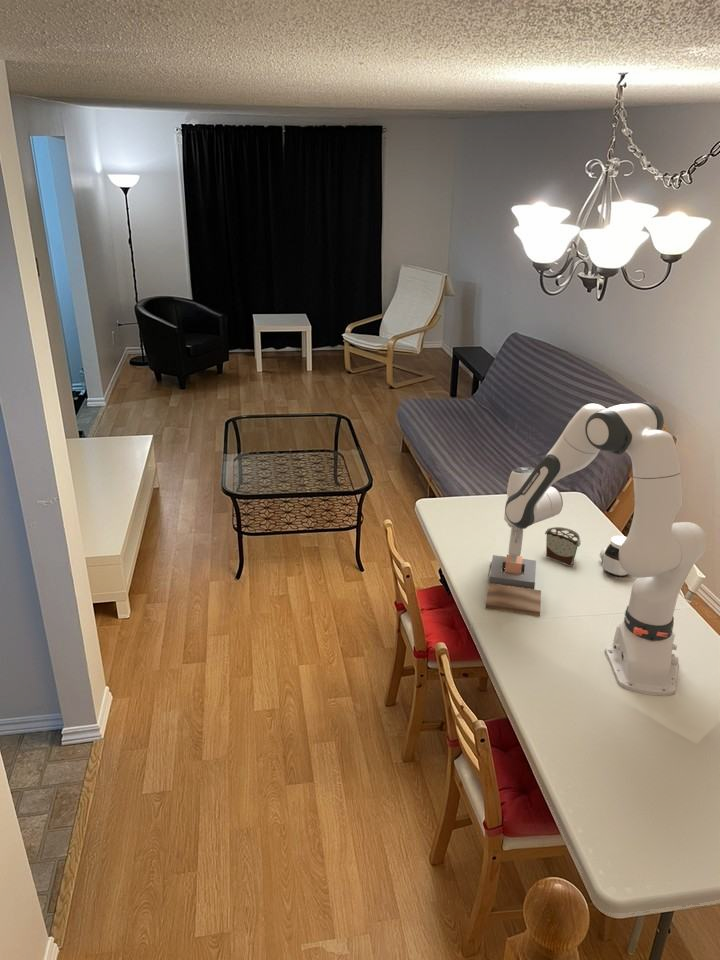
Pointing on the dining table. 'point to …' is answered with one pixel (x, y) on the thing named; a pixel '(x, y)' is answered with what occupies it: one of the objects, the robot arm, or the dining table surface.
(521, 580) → the pocket plate
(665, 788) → the dining table surface
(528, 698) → the dining table surface
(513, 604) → the walnut board
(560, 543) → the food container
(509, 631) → the dining table surface
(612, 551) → the spread jar
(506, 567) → the terracotta block
